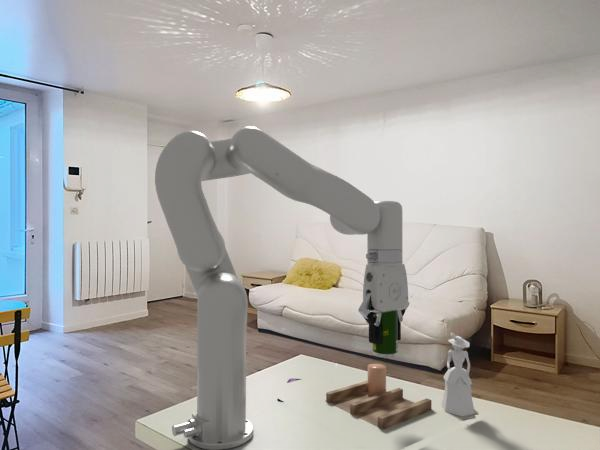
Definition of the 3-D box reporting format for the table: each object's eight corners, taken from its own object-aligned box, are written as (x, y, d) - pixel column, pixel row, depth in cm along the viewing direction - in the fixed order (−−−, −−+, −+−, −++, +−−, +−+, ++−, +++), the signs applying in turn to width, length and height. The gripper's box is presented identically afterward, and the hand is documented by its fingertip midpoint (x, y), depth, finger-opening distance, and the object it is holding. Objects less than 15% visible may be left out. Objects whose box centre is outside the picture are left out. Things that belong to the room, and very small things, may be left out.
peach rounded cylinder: (377, 400, 99) (377, 370, 99) (363, 395, 103) (363, 365, 103) (390, 396, 102) (390, 367, 102) (376, 391, 105) (376, 362, 105)
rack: (383, 434, 85) (383, 419, 85) (325, 405, 99) (325, 392, 99) (433, 414, 94) (432, 400, 94) (373, 390, 109) (373, 378, 109)
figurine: (447, 420, 91) (446, 336, 91) (437, 405, 99) (437, 327, 99) (480, 421, 90) (480, 336, 91) (468, 406, 99) (467, 328, 99)
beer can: (396, 351, 95) (395, 297, 95) (399, 358, 89) (399, 301, 90) (371, 350, 95) (371, 296, 96) (373, 357, 90) (373, 300, 90)
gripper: (369, 260, 85) (369, 351, 84) (423, 257, 95) (423, 339, 95) (344, 258, 91) (344, 343, 90) (397, 255, 101) (397, 332, 101)
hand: (384, 340), depth 92 cm, fingers closed on beer can, 5 cm apart
